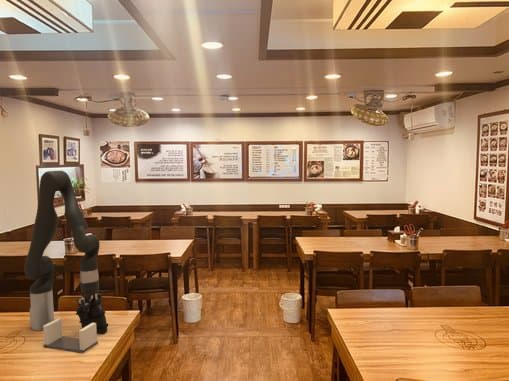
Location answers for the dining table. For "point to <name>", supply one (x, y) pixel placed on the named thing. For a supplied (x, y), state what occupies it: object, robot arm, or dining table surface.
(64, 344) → the rail plate
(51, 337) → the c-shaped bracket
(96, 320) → the magazine
